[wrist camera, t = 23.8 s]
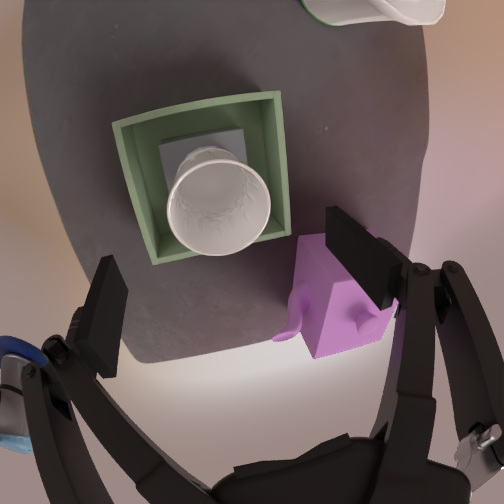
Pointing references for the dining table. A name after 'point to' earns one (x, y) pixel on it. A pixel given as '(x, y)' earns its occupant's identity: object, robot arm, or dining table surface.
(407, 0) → the cup
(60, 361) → the robot arm
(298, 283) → the teapot
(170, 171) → the grey block
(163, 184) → the crate
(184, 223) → the white cup
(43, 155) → the dining table surface
